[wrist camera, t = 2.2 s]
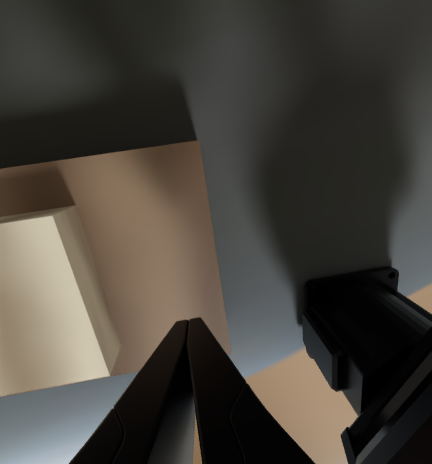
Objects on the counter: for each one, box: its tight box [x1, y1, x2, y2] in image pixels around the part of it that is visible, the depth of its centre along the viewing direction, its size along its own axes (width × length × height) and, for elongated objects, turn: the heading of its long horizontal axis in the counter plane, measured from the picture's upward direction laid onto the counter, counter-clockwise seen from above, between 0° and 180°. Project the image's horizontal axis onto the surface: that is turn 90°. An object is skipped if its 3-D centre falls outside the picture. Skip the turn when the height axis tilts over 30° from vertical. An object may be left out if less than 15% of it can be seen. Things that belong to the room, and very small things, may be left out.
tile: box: [0, 205, 121, 396], centre depth 11 cm, size 6×8×2 cm
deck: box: [0, 140, 231, 396], centre depth 14 cm, size 13×12×3 cm
